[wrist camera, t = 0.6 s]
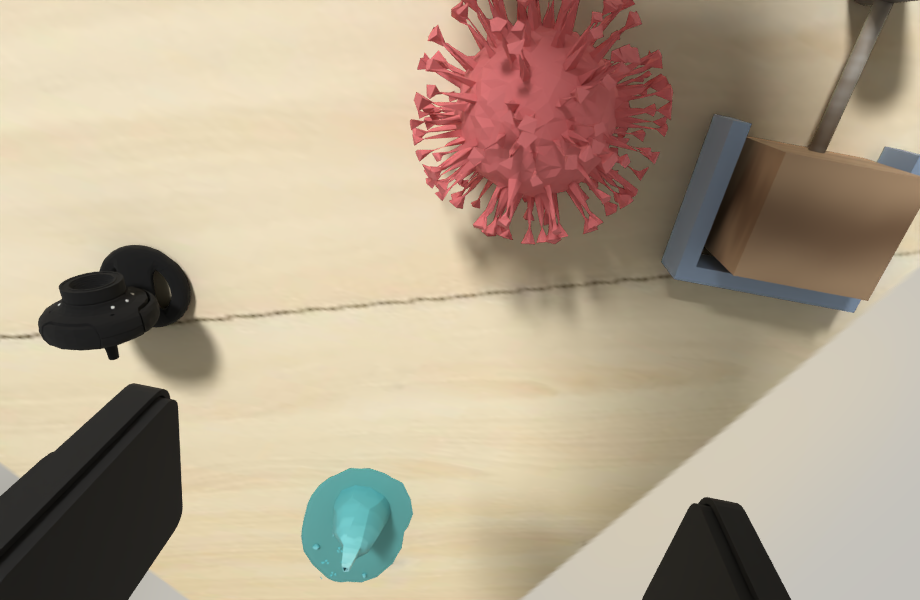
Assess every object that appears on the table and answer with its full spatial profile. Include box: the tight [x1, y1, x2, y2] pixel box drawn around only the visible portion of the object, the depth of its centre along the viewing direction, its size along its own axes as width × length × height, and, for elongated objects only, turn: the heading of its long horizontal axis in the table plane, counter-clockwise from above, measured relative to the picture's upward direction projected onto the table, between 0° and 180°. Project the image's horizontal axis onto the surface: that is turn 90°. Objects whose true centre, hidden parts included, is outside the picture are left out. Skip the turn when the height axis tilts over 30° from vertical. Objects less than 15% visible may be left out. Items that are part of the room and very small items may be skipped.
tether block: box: [704, 0, 920, 301], centre depth 34 cm, size 20×9×7 cm, turn 170°
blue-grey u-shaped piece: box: [661, 114, 920, 313], centre depth 39 cm, size 11×13×4 cm
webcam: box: [38, 245, 190, 360], centre depth 42 cm, size 8×8×10 cm
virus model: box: [410, 0, 673, 244], centre depth 32 cm, size 15×15×15 cm
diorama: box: [301, 468, 413, 582], centre depth 54 cm, size 12×20×9 cm, turn 160°
